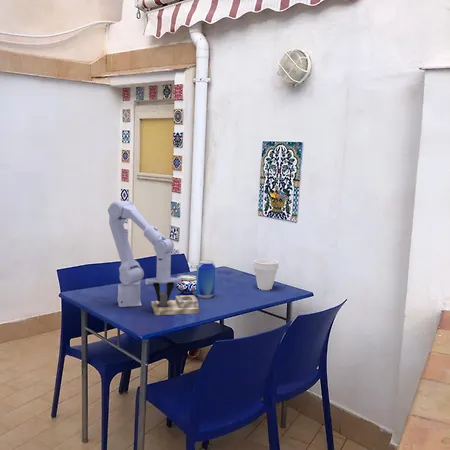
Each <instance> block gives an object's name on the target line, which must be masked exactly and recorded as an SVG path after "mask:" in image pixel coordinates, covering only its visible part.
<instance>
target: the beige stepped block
mask: <svg viewBox="0 0 450 450" xmlns="http://www.w3.org/2000/svg"><path fill="white" fill-rule="evenodd" d="M150 303H151V304H150V306H151V308H152V312H153V314H154V316H167V315H168V316H169V315H171V316H172V315H188V314H189V315H193V314H200V308H199V300H198V298H197V297H196V296H195V295H194V294H191V295H190V294H189V295H187V294H186V295H175V299H174V300H173V299H171V300H170V299H169V301H167V307H159V301H158V300H151V301H150Z"/></svg>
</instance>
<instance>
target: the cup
mask: <svg viewBox="0 0 450 450" xmlns="http://www.w3.org/2000/svg"><path fill="white" fill-rule="evenodd" d="M279 264H280V263H279V261H278V260H277V259H273V258H256V259H254V260H253V270H254V273H255V275H254V276H255V280H256V284H257V288H259V289H258V290H260V289H261V290H260V291H270V289H271V290H272V289H273V285H274V282H275V279H276V275H277V272H278V269H279Z"/></svg>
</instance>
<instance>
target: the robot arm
mask: <svg viewBox="0 0 450 450" xmlns="http://www.w3.org/2000/svg"><path fill="white" fill-rule="evenodd" d="M107 212H108V215H109V218H108V219H109V220H108V221H109V222H108V223H109V224H108V225H109V227H110V230H111V233H112V237H113V240H114V244H115V246H116V250H117V253H118V257H119V261H120V266H119V267H118V271H119V272H118V273H119V281H120V282H121V283H118V285H117V298H116V299H117V305H118V307H120V308H121V307H123V308H124V307H125V308H127V307H142V302H141V284H142V283H141V282H142V280H143V279H144V276H145V272H144V269H143V268H142V267H141V265H140V263H139V262H138V261H137V260H135V258H134V254H133V251H132V247H131V245H130V242H129V239H128V236H127V235H128V234H127V231H126V229H125V226H124V224H125V222H126V220H127V219H130V220H131V221H132V222H133V223H134V224H136V226H138V228H140V230H142V231H143V236H144V237H145V239H147V240H148V242H149V243H150V244H151V245H152V246H153V249H154V252H155V255H156V274H155V275H156V277H151V278H145V285H146V286H147V285H152V286H153V287H154V290H155V294H156V298H157V300H156V301H160V292H161V286H160V285H161V284H163V285H164V284H166V293H167V301H169V300H170V297H171V293H172V291H173V290H174V287H175V284H182V278H181V277H171V273H172V272H171V269H172V268H171V265H172V263H171V262H172V251H174V248H175V245H174V242H173V240H172V239H171V238H168V237H166V236H165V235H163V234H162V233H161V231H160V230H159V227H157V226H155V225H150V224H149V222H148V221H147V220H146V219H145V218H144V217H143V215H142V214H141V212H139V211H138V209H137V206H136V205H135V204H134V203H133V202H132V201H131V200H124V201H123V200H122V201H113V202H112V203H111V204H109V207H108V209H107Z"/></svg>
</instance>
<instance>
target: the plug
mask: <svg viewBox="0 0 450 450" xmlns="http://www.w3.org/2000/svg"><path fill="white" fill-rule="evenodd" d="M159 307H167V291H160V301H159Z"/></svg>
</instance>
